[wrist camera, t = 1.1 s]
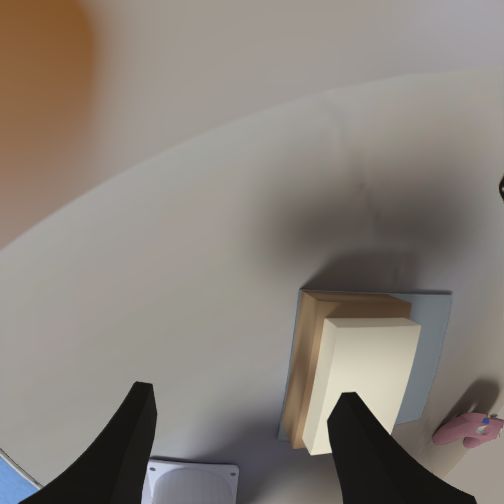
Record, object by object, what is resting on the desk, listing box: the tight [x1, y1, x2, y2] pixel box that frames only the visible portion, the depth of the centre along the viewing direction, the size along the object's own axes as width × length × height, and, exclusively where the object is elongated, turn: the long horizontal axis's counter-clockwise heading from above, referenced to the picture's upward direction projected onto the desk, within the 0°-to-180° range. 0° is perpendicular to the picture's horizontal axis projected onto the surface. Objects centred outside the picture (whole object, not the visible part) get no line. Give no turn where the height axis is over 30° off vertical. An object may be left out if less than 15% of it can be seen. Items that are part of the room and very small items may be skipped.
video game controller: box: [433, 413, 504, 448], centre depth 23 cm, size 10×5×7 cm, turn 62°
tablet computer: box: [0, 449, 43, 504], centre depth 18 cm, size 19×13×1 cm, turn 133°
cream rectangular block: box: [302, 318, 421, 455], centre depth 17 cm, size 9×6×2 cm, turn 175°
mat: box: [277, 289, 453, 441], centre depth 23 cm, size 13×15×1 cm
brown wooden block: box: [282, 290, 412, 449], centre depth 20 cm, size 11×7×4 cm, turn 175°
